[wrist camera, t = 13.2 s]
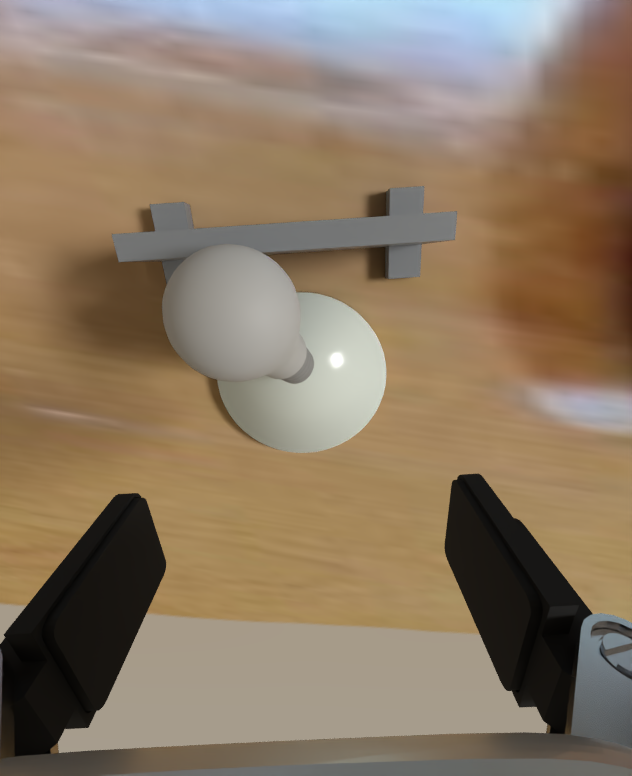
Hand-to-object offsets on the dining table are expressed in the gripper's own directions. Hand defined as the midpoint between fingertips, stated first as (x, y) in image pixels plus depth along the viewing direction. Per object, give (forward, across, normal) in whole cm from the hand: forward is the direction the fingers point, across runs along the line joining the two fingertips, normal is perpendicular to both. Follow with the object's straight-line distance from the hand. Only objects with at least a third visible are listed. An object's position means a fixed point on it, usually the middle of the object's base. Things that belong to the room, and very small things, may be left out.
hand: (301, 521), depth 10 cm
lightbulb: (+14, 0, 0) cm, 14 cm away
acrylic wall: (+15, 0, -8) cm, 17 cm away
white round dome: (+15, 0, +1) cm, 15 cm away
